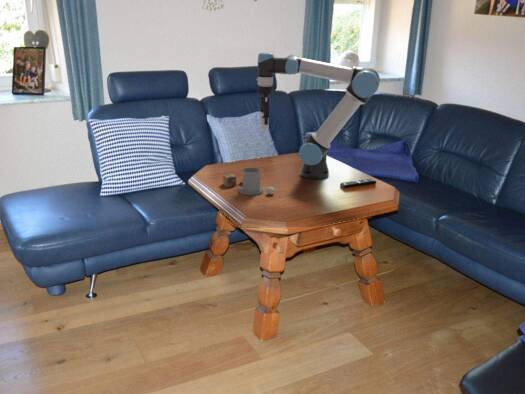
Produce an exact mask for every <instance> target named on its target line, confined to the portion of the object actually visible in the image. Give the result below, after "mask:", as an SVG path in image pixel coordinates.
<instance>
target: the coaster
mask: <svg viewBox="0 0 525 394" xmlns="http://www.w3.org/2000/svg"><path fill="white" fill-rule="evenodd" d="M238 193H240V194H241V195H244V196H258V195H262V194H263V193H264V188H263V187H261V186H260V191H258V192H245V191H243V186H241V187H239V188H238Z"/></svg>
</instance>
